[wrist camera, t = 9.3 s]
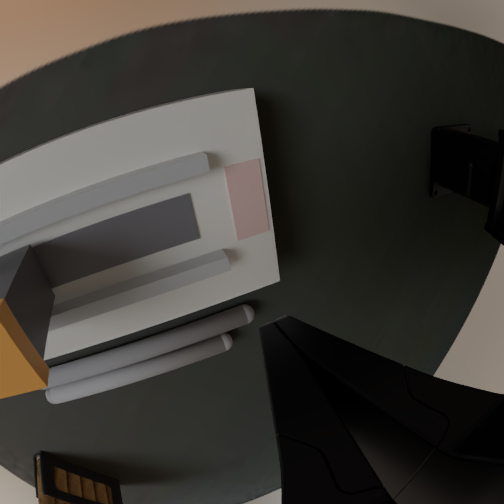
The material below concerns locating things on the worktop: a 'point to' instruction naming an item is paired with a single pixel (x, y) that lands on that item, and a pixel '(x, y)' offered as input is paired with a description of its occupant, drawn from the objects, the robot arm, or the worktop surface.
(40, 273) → the breaker lever
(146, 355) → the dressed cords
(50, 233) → the breaker panel
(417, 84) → the worktop surface
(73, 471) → the ammunition clip
